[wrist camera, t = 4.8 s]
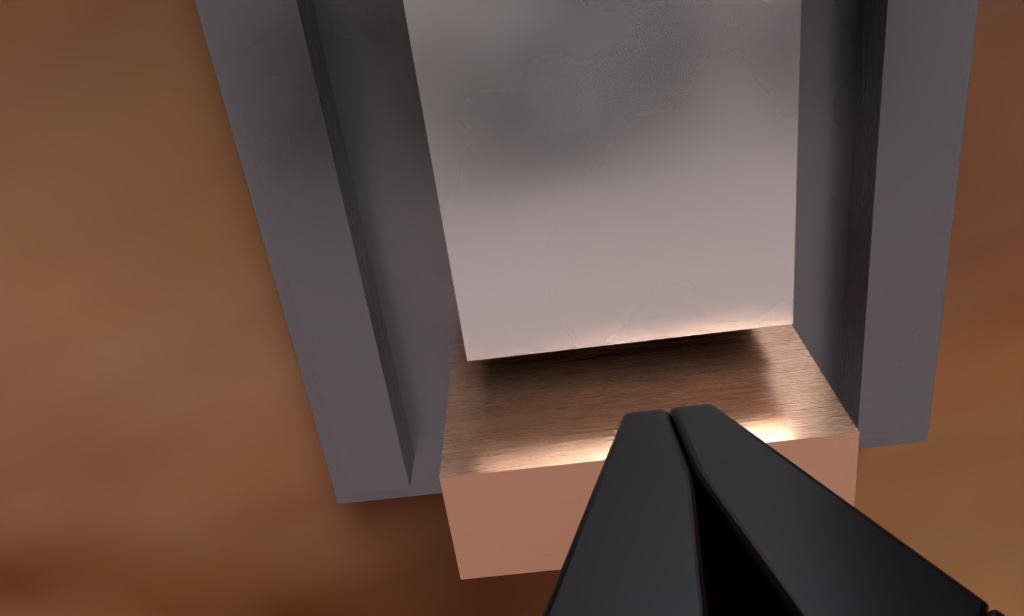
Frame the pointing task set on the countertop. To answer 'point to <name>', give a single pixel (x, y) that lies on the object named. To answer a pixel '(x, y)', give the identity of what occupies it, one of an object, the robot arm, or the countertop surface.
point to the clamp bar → (612, 165)
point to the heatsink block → (601, 369)
